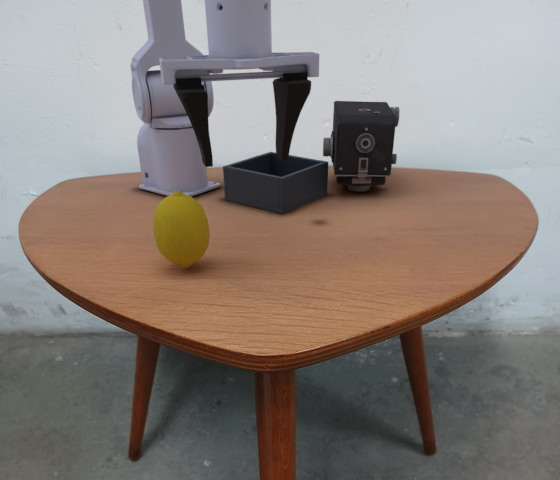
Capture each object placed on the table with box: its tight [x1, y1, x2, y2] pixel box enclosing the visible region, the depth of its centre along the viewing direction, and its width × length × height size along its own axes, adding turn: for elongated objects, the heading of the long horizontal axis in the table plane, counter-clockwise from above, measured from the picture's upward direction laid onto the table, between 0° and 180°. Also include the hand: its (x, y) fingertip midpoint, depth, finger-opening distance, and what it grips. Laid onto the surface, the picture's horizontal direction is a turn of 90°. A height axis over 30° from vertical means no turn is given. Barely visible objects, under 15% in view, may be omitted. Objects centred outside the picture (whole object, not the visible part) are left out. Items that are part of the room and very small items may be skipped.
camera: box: [322, 100, 401, 192], centre depth 79 cm, size 11×11×15 cm
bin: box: [222, 151, 329, 215], centre depth 76 cm, size 10×10×4 cm
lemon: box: [152, 191, 210, 270], centre depth 55 cm, size 6×6×8 cm
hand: (245, 161), depth 55 cm, fingers open, 7 cm apart
